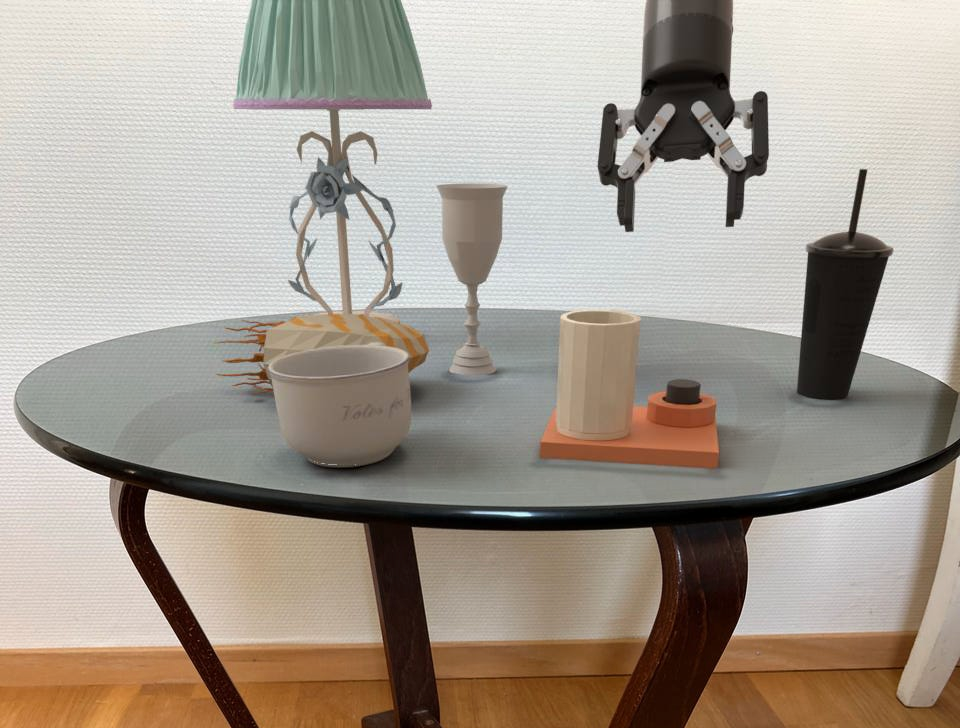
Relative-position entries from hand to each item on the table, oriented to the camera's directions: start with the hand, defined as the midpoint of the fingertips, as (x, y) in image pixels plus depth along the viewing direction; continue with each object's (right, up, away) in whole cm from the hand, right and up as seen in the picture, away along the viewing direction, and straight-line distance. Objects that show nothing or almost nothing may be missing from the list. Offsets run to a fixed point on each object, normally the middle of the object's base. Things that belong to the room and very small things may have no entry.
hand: (679, 225), depth 81 cm
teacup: (-27, -20, -3) cm, 34 cm away
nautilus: (-33, -11, +13) cm, 37 cm away
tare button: (0, -15, 0) cm, 15 cm away
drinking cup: (+17, -11, +12) cm, 24 cm away
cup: (-8, -18, -3) cm, 20 cm away
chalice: (-18, -7, +21) cm, 28 cm away
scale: (-4, -19, -1) cm, 19 cm away
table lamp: (-33, +1, +35) cm, 48 cm away
